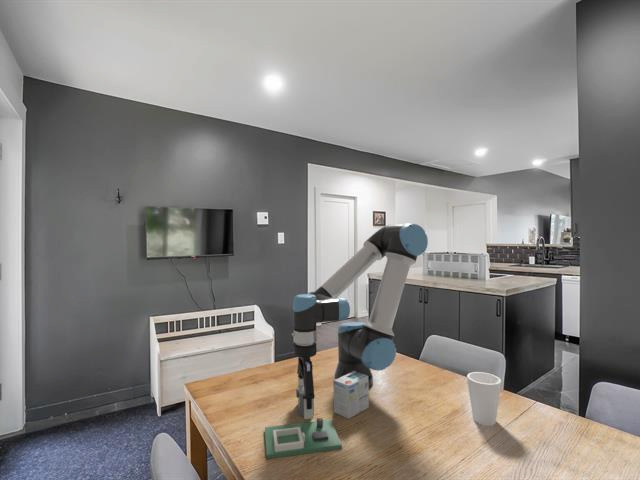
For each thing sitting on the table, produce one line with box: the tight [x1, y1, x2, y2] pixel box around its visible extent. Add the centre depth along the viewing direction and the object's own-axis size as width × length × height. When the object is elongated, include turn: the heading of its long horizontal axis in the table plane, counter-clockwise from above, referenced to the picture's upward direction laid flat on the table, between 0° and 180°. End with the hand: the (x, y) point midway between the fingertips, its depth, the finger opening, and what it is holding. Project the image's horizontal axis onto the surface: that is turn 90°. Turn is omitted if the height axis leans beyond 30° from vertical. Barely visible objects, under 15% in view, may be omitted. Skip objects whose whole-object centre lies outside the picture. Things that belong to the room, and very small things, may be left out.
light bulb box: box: [333, 371, 370, 420], centre depth 111 cm, size 11×7×11 cm, turn 134°
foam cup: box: [466, 371, 502, 427], centre depth 104 cm, size 10×9×13 cm
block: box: [295, 384, 315, 417], centre depth 110 cm, size 5×4×8 cm
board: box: [264, 417, 342, 460], centre depth 95 cm, size 20×13×3 cm, turn 101°
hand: (305, 407), depth 110 cm, fingers open, 13 cm apart
